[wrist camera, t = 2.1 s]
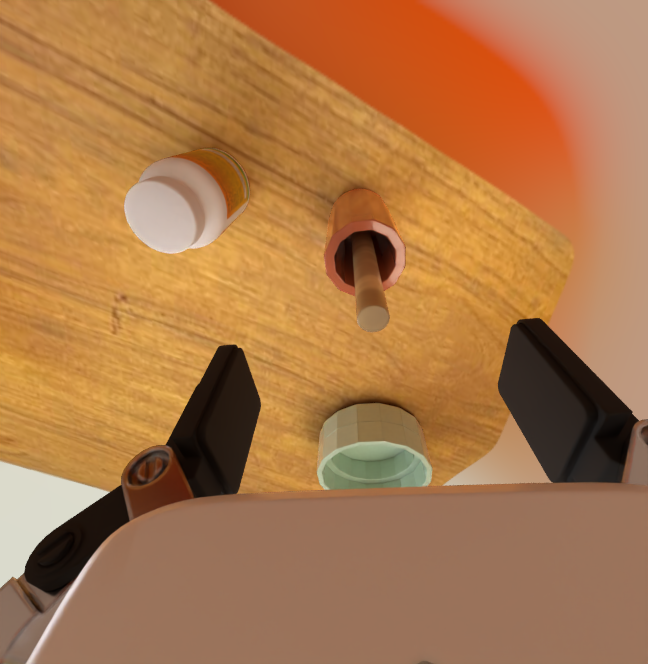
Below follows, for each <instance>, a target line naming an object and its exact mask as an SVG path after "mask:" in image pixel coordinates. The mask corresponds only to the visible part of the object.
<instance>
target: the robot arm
mask: <svg viewBox="0 0 648 664" xmlns="http://www.w3.org/2000/svg"><path fill="white" fill-rule="evenodd" d="M498 389H499V393H500V395H501V396H502V398H503V400H504V402H505V403H506V405H507V407H508V409H509V410H510V412H511V414H512V415H513V417H514V419H515V421H516V422H517V424H518V426H519V428H520V429H521V431H522V433H523V435H524V436H525V438H526V440H527V442H528V443H529V445H530V447H531V449H532V450H533V452H534V454H535V456H536V457H537V459H538V461H539V463H540V464H541V466H542V468H543V470H544V471H545V473H546V475H547V476H548V478H549V479H550V481H551V482H553V483H520V484H489V485H488V484H487V485H457V486H456V485H455V486H422V487H393V488H365V489H338V490H313V491H288V492H265V493H248V494H236V493H237V492H238V490H239V487H240V483H241V479H242V476H243V472H244V468H245V464H246V461H247V457H248V453H249V449H250V446H251V442H252V438H253V434H254V431H255V427H256V423H257V419H258V416H259V412H260V408H261V402H260V398H259V395H258V392H257V389H256V386H255V383H254V380H253V378H252V375H251V372H250V369H249V366H248V363H247V361H246V358H245V355H244V352H243V350H242V348H238V347H237V346H236V345H224V346H219V347H218V349H217V351H216V353H215V355H214V357H213V358H212V360H211V362H210V364H209V366H208V368H207V370H206V372H205V374H204V376H203V378H202V380H201V382H200V384H198V385H197V387H196V388H195V390H194V392H193V394H192V396H191V398H190V400H189V401H188V403H187V405H186V407H185V409H184V411H183V413H182V415H181V417H180V419H179V421H178V422H177V424H176V426H175V428H174V430H173V432H172V434H171V436H170V438H169V440H168V442H167V443H166V445H157V446H153V447H150V448H148V449H146V450H143V451H142V452H140V453H139V454H138V455H136V456H135V457H134V458H133V459H132V460H131V461H130V462H129V463H128V465H127V466H126V467H125V469H124V471H123V474H122V476H121V484H122V485H120V486H119V487H117V488H116V489H114V490H113V491H111V492H110V493H108V494H107V495H105V496H104V497H103V498H101V499H99V500H98V501H96V502H95V503H93V504H92V505H90V506H89V507H88V508H86V509H84V510H83V511H81V512H80V513H79V514H77V515H76V516H74V517H73V518H71V519H70V520H68V521H67V522H65V523H64V524H62V525H61V526H59V527H58V528H56V529H55V530H54V531H52V532H51V533H50V534H49V535H47V536H46V537H45V538H44V539H43V540H42V541H41V542H40V543H39V544H38V545H37V546H36V548H35V549H34V551H33V552H32V554H31V555H30V557H29V559H28V561H27V563H26V566H25V572H24V574H23V575H21V576H20V577H19V578H18V579H16V578H14V577H12V578H11V579H10V580H9V581H8V582H7V583H6V584H4V585H3V586H2V587H1V588H0V664H648V419H646V420H641V421H639V420H638V419H637V418H636V417H635V416H634V415H633V414H632V411H631V410H630V409H629V408H628V407H627V406H626V405H625V404H624V403H623V402H622V401H621V400H620V399H619V398H618V397H617V396H616V395H615V394H614V393H613V392H612V391H611V390H610V389H609V388H608V387H607V386H606V385H605V383H604V382H603V381H602V380H601V379H600V378H599V377H597V376H596V374H595V373H594V372H593V371H592V370H591V369H590V368H589V367H588V366H587V365H586V364H585V363H584V362H583V361H582V360H581V359H580V358H579V357H578V356H577V355H576V354H575V353H574V352H573V351H572V350H571V349H570V348H569V347H568V346H567V345H566V344H565V343H564V342H563V341H562V340H561V339H560V338H559V337H558V336H557V335H556V334H555V333H554V332H553V331H552V330H551V329H550V328H549V327H548V326H547V325H546V324H545V322H544V321H543V320H541V319H540V318H533V319H521V320H519V321H518V322H517V324H514V325H513V326H512V327H511V331H510V335H509V339H508V343H507V348H506V352H505V356H504V360H503V365H502V369H501V373H500V377H499V381H498Z"/></svg>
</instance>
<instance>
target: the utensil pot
mask: <svg viewBox="0 0 648 664" xmlns="http://www.w3.org/2000/svg"><path fill="white" fill-rule="evenodd" d="M367 230H370V232H371V237H372V241H373V245H374V250H375V254H376V259H377V263H378V267H379V272H380V276H381V281H382V285H383V289H384V291H385V290H386V289H388V288H390V287H391V286H393V285H394V284H395V283H396V281H397V280H398V278H399V276H400V275H401V273H402V271H403V270H404V268H405V256H406V247H405V244H404V242H403V240H402V237H401V235H400V233H399V231H398V229H397V227H396V224H395V222H394V220H393V218H392V216H391V214H390V212H389V209H388V208H387V206H386V204H385V203H384V201H383V200H382V198H381V197H380V196H379V195H378V194H376V193H375V192H373V191H371V190H368V189H361V188H360V189H353V190H350V191H348V192H346V193H344V194H343V195H341V196H340V197H339V198H338V199H337V201H336V202H335V204H334V205H333V207H332V210H331V213H330V216H329V222H328V229H327V237H326V244H325V252H324V260H325V267H326V274H327V276H328V277H329V278H330V280H331V281H332V282H333V283H334V284H335V286H336V287H337V288H338V289H339V290H340V291H343V292H345V293H348V294H351V295H353V296H355V282H354V267H353V252H352V237H351V234H352V233H354V232H358V231H367Z"/></svg>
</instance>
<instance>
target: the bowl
mask: <svg viewBox="0 0 648 664" xmlns="http://www.w3.org/2000/svg"><path fill="white" fill-rule="evenodd" d="M317 475H318V479H319V483H320V485H321V486H322V487H323V488H324V489H325V490H338V489H365V488H393V487H422V486H427V485H428V484H429V483H430V482H431V477H432V465H431V461H430V457H429V453H428V449H427V445H426V441H425V437H424V433H423V429H422V428H421V426H420V425H419V423H418V421H417V420H416V418H415V417H414V416H412V415H411V414H409V413H407V412H406V411H404V410H402V409H401V408H399V407H395V406H390V405H386V404H381V403H367V404H356V405H353V406H350V407H347V408H345V409H342V410H339V411H337V412H336V413H335V414H333V415H332V416H331V417H330V418H329V419H327V420H326V421H325V422H324V425H323V427H322V429H321V432H320V435H319V449H318V463H317Z"/></svg>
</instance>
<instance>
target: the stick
mask: <svg viewBox="0 0 648 664" xmlns="http://www.w3.org/2000/svg"><path fill="white" fill-rule="evenodd" d="M351 237H352V252H353V267H354V282H355V297H356V313H357V322H358V325H359V326H360V327H361V328H362V329H363V330H365V331H368V332H377V331H380V330H382V329H384V328H385V327H386V326H387V324H388V322H389V318H390V316H389V311H388V307H387V303H386V298H385V294H384V289H383V285H382V281H381V276H380V272H379V267H378V263H377V259H376V254H375V250H374V245H373V241H372V237H371V232H370V230H367V231H358V232H354V233H352V234H351Z"/></svg>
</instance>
